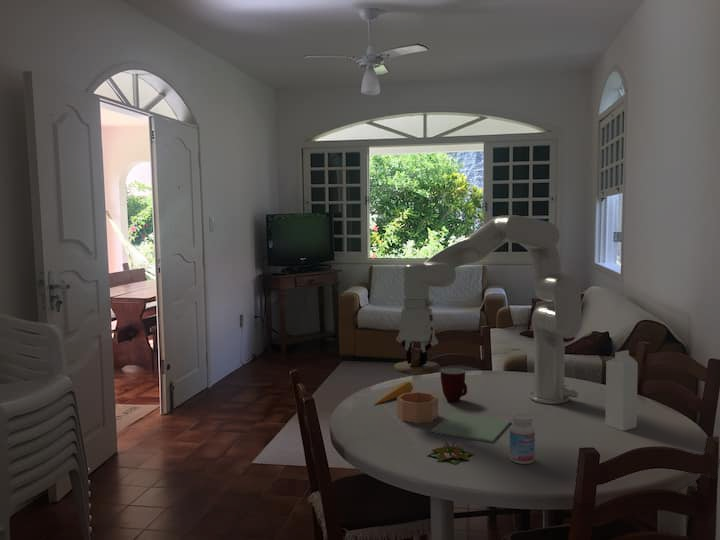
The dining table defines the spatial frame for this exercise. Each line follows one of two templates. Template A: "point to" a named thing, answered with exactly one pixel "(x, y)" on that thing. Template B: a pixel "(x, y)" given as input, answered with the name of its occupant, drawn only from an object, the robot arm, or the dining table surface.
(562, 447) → the dining table surface
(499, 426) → the mat
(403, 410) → the bowl
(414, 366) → the lid
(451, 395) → the mug
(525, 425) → the pill bottle
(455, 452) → the lily flower
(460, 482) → the dining table surface
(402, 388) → the carrot
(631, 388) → the milk
